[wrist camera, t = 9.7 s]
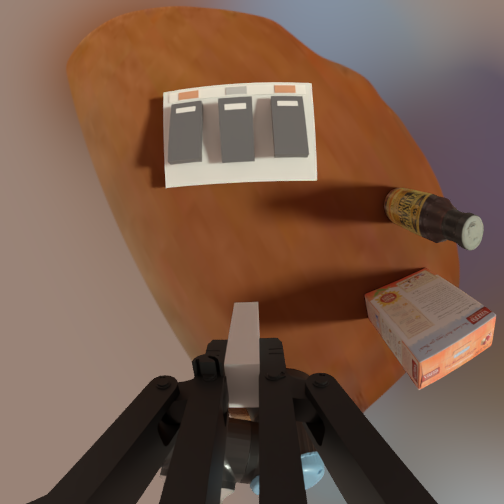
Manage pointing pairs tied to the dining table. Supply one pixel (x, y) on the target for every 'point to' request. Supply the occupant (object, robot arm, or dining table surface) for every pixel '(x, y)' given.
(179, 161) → the switch
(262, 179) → the switch panel
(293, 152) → the switch
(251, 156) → the switch middle
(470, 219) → the sauce bottle
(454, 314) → the cracker box
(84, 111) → the dining table surface
